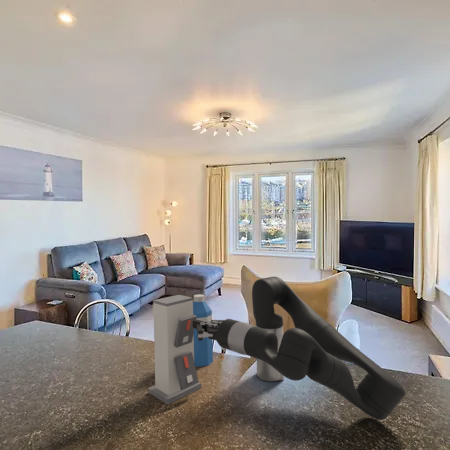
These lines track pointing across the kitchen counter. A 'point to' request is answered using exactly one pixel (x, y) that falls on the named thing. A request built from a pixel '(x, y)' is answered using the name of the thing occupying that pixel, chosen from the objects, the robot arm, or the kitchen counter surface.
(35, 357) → the kitchen counter surface
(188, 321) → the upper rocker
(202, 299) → the water bottle
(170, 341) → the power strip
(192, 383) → the lower rocker
